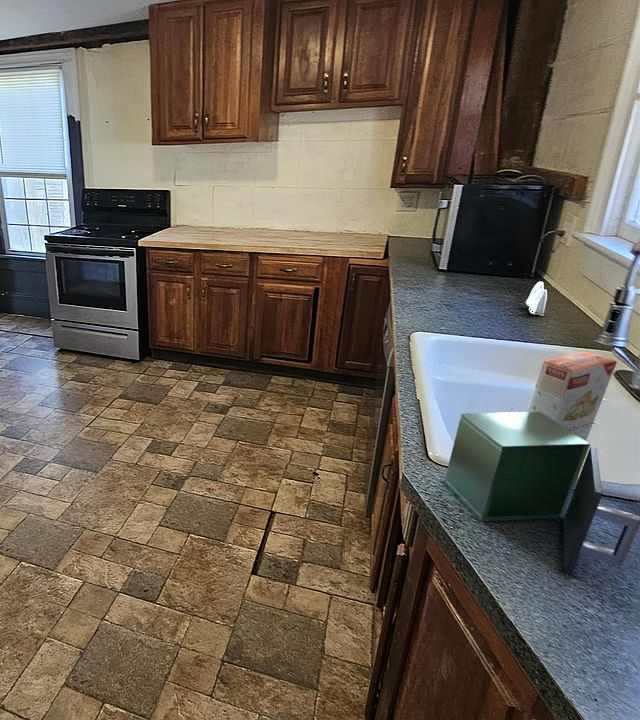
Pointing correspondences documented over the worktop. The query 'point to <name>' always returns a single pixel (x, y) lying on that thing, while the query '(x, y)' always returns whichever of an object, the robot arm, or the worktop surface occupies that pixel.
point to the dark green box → (514, 465)
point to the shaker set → (537, 299)
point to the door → (582, 515)
